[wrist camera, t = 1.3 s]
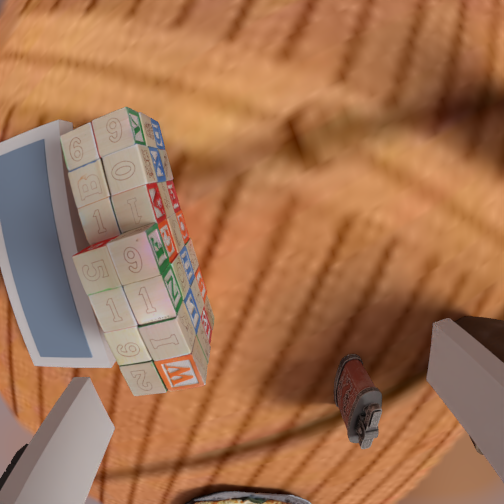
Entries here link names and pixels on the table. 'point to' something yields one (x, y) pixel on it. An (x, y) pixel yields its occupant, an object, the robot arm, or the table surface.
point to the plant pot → (485, 337)
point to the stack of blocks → (138, 253)
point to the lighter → (357, 401)
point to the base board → (46, 252)
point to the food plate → (247, 498)
